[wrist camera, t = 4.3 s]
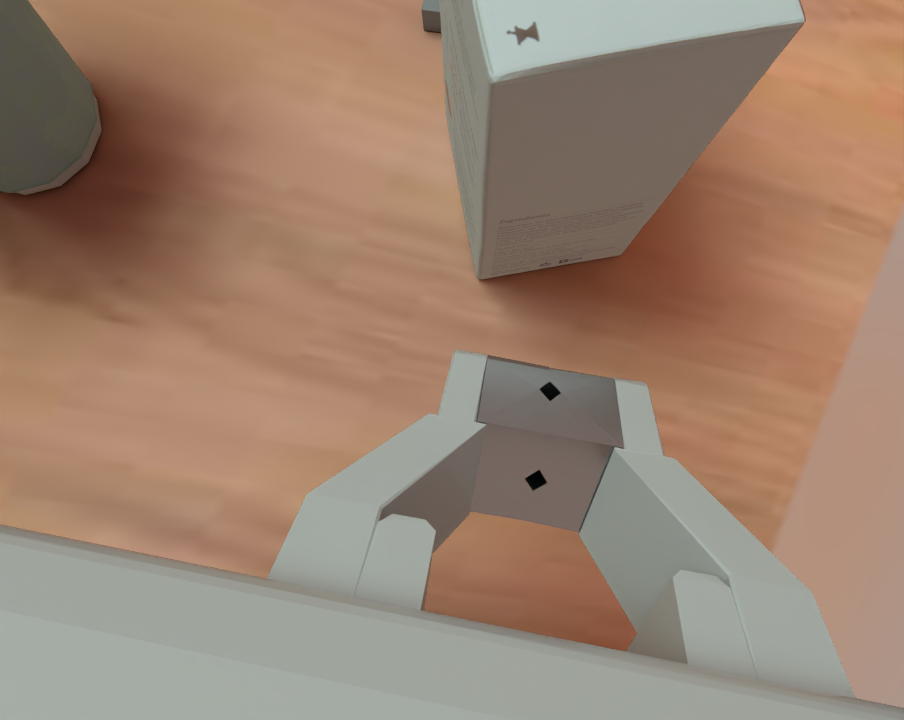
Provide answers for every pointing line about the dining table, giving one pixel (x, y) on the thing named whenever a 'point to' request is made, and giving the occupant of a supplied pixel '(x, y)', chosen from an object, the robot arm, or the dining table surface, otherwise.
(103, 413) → the dining table surface
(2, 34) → the disposable coffee cup
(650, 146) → the small box
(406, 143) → the dining table surface
